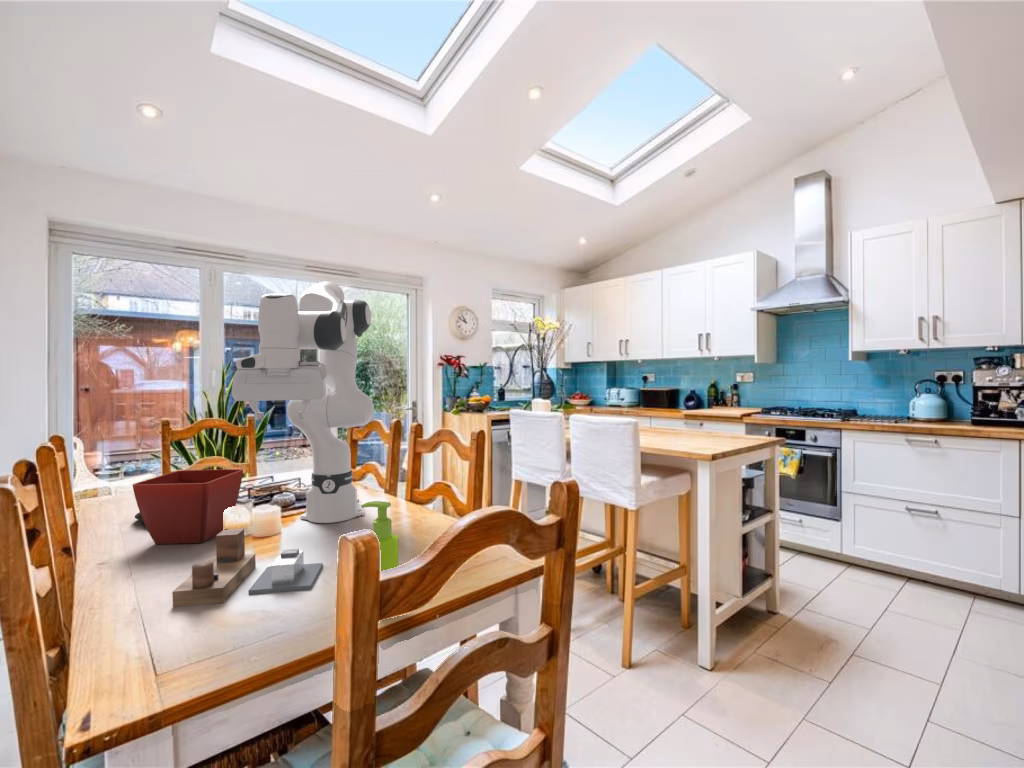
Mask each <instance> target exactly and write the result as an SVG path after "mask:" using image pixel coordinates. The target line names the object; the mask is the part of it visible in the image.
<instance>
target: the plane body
mask: <svg viewBox="0 0 1024 768" xmlns="http://www.w3.org/2000/svg"><path fill="white" fill-rule="evenodd" d="M215 549H216V550H215V551H216V554H215V556H212V557H211V558H209V560H207V561H205V560H204V561H199V562H197V563H195V564H193V565H191V575H190V576H189V577H187V578H186V579H185V580H184V581H183V582H182V583H181V584H179V585H178V586H177V587H176V588H175V589H173V591H172V607H174V608H176V607H177V606H179V607H187V606H200V605H213V604H224V603H225V602H226V601H227V599H229V597H230V596H231V595H232V594H233V593H234V592H235V590H236V589H238V587H239V586H240V585H241V584H242V583H243V581H244V580H246V578H247V577H248V576H249V574H250V573H251V572H252V571H253V570H254V569H255V568H256V565H257V564H256V562H257V561H256V553H245V552H246V551H245V528H235V529H234V528H232V529H226V530H223V531H221V532H220V533H219V534H217V535H215Z"/></svg>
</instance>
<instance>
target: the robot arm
mask: <svg viewBox="0 0 1024 768" xmlns="http://www.w3.org/2000/svg"><path fill="white" fill-rule="evenodd" d="M298 306H299V307H298ZM299 310H300V311H299ZM257 317H258V320H257V322H258V323H257V326H258V328H257V330H258V334H259V338H260V339H259V345H258V353H257V354H253V355H250V356H246V357H243V358H239V359H237V360H236V362H235V366H236V367H235V368H236V369H238V370H236V371H235V372H234V374H233V378H232V384H231V397H232V398H233V400H234V401H235V402H249V407H250V409H251V410H252V412H253V413H254V420H255V421H264V420H265V417H264V416H265V412H264V411H262V412H261V411H260V409H259V408H258V406H259V405H260V402H261V401H264V402H266V401H267V402H269V401H289V402H288V403H287V405H286V415H287V418H288V421H289V422H290V423H291V424H292V425H293V426H294V427H296V428H297V429H298V430H300V431H301V432H302V434H304V436H305V437H306V439H307V441H308V443H309V445H310V449H311V456H312V457H311V459H312V473H311V478H310V479H311V485H312V486H311V488H310V489H309V490H307V491H306V501H305V502H306V504H305V505H306V506H305V507H306V509H305V512H304V513H302V514H301V515H300V519H301V520H307V521H309V522H311V523H318V524H333V523H340V522H344V521H348V520H351V519H353V517H354V518H356V516H358V517H361V515H362V516H364V515H365V511H364V508H362V507H361V505H363V504H362V501H360V499H359V498H358V494H357V490H358V489H356V487H355V485H354V484H353V481H354V479H353V476H354V474H353V470H352V464H351V463H352V461H351V454H352V453H351V447H350V445H349V443H347V442H346V441H345V440H343V439H341V438H338V437H337V436H335V435H334V434H333V432H332V430H331V428H332V429H333V428H355V427H361V426H364V425H368V424H369V423H370V422H371V420H372V419H373V416H374V414H375V404H374V402H373V400H372V398H371V397H370V396H369V395H368V394H366V393H365V392H363V391H362V390H361V389H360V388H359V386H358V384H357V382H356V371H357V362H358V360H357V359H358V345H357V339H356V337H357V338H361V337H363V334H364V333H365V332H366V331H367V330H368V329H369V327H370V326H371V322H372V311H371V309H370V305H369V304H368V303H367V301H365V300H360V299H354V300H353V299H345V293H344V291H343V289H342V287H341V286H340V285H338V284H337V283H335V282H333V281H328V280H327V281H321V282H317V283H315V284H313V285H311V286H310V287H309V288H307V289H306V290H305V291H304V292H303V293H302V295H301V296H300V298H299V304H298V299H297V297H296V295H293V294H291V293H267V294H263V295H262V296H261V298H260V301H259V307H258V316H257ZM301 350H322V351H323V352H322V355H321V359H320V360H321V361H319V360H318V361H314V360H313V361H303V360H302V361H301ZM327 389H329V390H331V392H327Z"/></svg>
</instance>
